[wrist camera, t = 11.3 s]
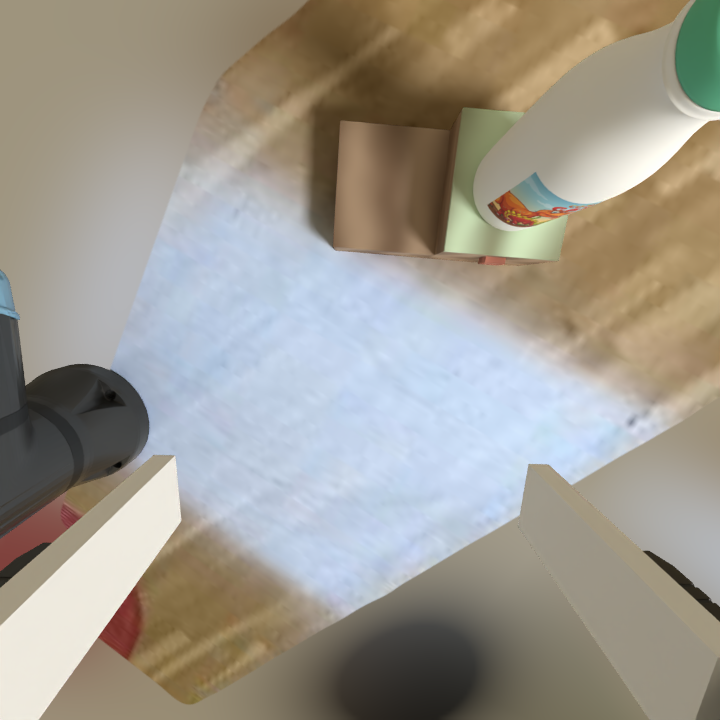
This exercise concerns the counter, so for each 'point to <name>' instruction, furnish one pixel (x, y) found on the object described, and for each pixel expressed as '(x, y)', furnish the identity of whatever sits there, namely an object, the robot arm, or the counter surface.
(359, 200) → the plinth
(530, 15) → the counter surface
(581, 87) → the milk bottle
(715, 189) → the counter surface
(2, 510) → the robot arm
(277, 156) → the counter surface
